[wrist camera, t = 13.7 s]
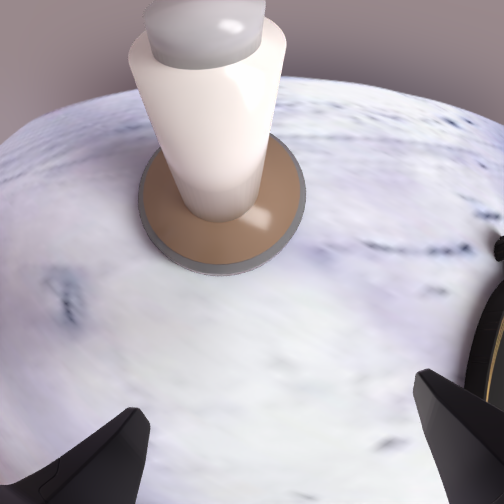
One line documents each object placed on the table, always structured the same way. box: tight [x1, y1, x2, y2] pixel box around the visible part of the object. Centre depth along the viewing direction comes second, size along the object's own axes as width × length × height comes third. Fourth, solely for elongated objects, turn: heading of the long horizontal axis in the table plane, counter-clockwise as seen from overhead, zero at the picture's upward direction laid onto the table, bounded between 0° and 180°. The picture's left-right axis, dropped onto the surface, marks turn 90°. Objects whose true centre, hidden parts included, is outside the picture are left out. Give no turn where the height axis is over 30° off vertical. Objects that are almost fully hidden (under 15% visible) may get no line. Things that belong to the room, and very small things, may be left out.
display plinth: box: [138, 133, 306, 276], centre depth 19 cm, size 12×12×2 cm
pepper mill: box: [128, 0, 286, 223], centre depth 12 cm, size 5×5×13 cm
